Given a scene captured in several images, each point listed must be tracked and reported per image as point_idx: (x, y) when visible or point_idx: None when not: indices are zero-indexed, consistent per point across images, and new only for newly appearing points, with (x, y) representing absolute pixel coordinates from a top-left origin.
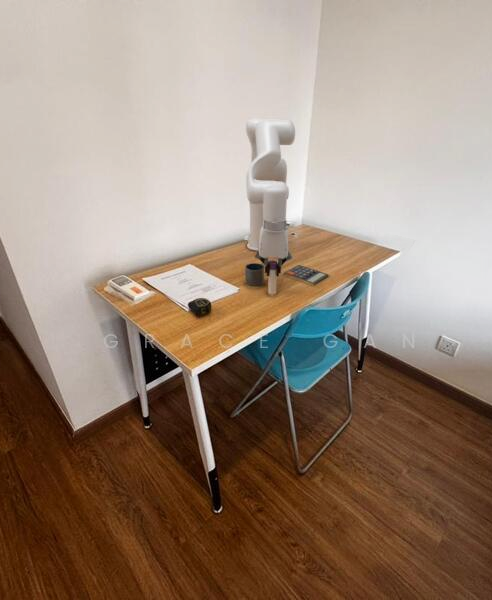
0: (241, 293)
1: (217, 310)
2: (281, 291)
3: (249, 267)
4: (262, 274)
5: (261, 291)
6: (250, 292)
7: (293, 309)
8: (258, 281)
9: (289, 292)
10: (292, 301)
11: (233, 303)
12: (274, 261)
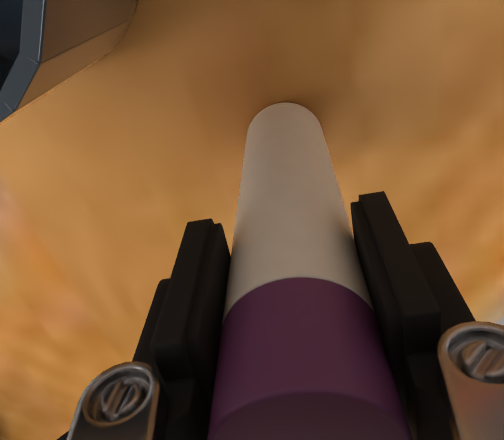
0: (20, 191)
1: (15, 399)
2: (369, 51)
3: None
4: (82, 18)
5: (169, 109)
6: (81, 155)
7: (477, 308)
8: (84, 66)
9: (458, 50)
10: (477, 211)
11: (52, 326)
12: (334, 428)
